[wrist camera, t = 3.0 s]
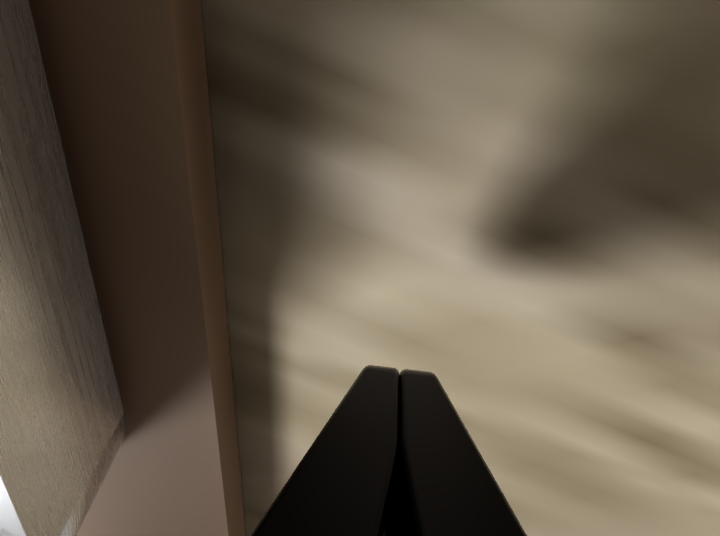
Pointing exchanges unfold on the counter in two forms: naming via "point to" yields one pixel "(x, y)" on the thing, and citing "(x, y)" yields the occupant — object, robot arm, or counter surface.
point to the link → (46, 313)
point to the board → (150, 255)
